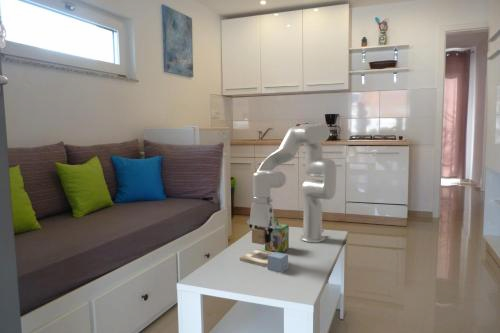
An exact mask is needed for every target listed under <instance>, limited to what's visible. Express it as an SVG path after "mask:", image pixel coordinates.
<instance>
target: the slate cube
mask: <svg viewBox="0 0 500 333" xmlns="http://www.w3.org/2000/svg"><path fill="white" fill-rule="evenodd" d="M288 269H289V254H288V253H284V252H282V253H281V252H275V251H273V253H272V254H270V255H268V267H267V270H269V271H270V272H275V273H280V274H281V273H283V272H285V271H286V270H288Z"/></svg>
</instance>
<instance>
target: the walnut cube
mask: <svg viewBox="0 0 500 333" xmlns="http://www.w3.org/2000/svg"><path fill="white" fill-rule="evenodd" d="M265 234H267V233H266V230H265V227H260V226H258V227H256V228H254V229H252V231H251V243H252V244H256V245H257V244H258V245H262V246H265V244H267V243H266V242H265ZM270 242H271V240H270ZM268 243H269V242H268Z"/></svg>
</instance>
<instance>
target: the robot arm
mask: <svg viewBox="0 0 500 333" xmlns="http://www.w3.org/2000/svg"><path fill="white" fill-rule="evenodd" d="M330 135H331V131H330V128H329V126H328V125H327V124H325V123H305V124H301V125H295V126H291V127H290V128H289V129H288V130H287V132H286V134H285V135H284V137H283V139H282V141H281V143H280V145H279V147H278V148H277V150H275V151H274V152H272V153H271V154H270V155H269V156H267V157H266V158H265V159H264V160H262V162H261V163H260V166H259V167H258V169H257V171H256V172H254V173H253V175H252V203H251V206H250V215H249V218H248V219H247V220H246V224H247V225H248V227H249V228H250V230H251V232H252V229H254V228H256V227H259V226H260V227H265V230H266V233H267V234H265V242H266V243H268V242H270V240H271V233H272V231H273V230H274V229H275V228H277V225H276V224H277V222H276V221H275V222H274V219H275V214H274V208H273V204H272V203H273V199H272V198H271V188H272V189H273V188H274V189H278V188H282V187H284V185H285V184H286V182H287V177H286V174H285V173H284V172H282V171H279V170H274V169H275V168H277V167H278V166H280V165H282V164H286V163H288V162H290V161H292V160H294V158H295V157H296V154H297V153H298V151H299V149H300V148H301V145H303V146H304V148H305V166H304V167H305V174H306V175H307V176H309V177H312V178H309V179H305V180H304V181H303V182H302V184H301V194H302V199H303V218H302V219H303V224H302V225H303V228H302V231H303V234H301V235H300V237H299V239H300V240H301V241H303V242H306V243H313V244H315V243H322V242H324V241H325V239H326V237H325V236H324V235H322V234H323V233H324V231H325V229H323V204H322V201H321V200H329V201H330V200H332V199H333V198H334V197H335V195H336V190H337V189H336V188H337V164H336V163H335V161H334V160H332V159H331V158H324V157H323V155H324V152H323V146H322V144H321V143H324V142H325V141H327V140H328V139H330ZM313 177H314V178H315V177H316V178H322V179H314V178H313ZM271 226H272V228H271Z"/></svg>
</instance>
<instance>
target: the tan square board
mask: <svg viewBox="0 0 500 333" xmlns="http://www.w3.org/2000/svg"><path fill="white" fill-rule="evenodd" d="M272 253H274V251H267V250H265V249H258V248H257V249H255V250H252V251H251V252H248V253H246V254H245V255H242V256H240V257H239V261H241V262H244V263H247V264H248V263H249V264H253V265H257V266H261V267H265V268H268V255H270V254H272Z"/></svg>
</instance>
